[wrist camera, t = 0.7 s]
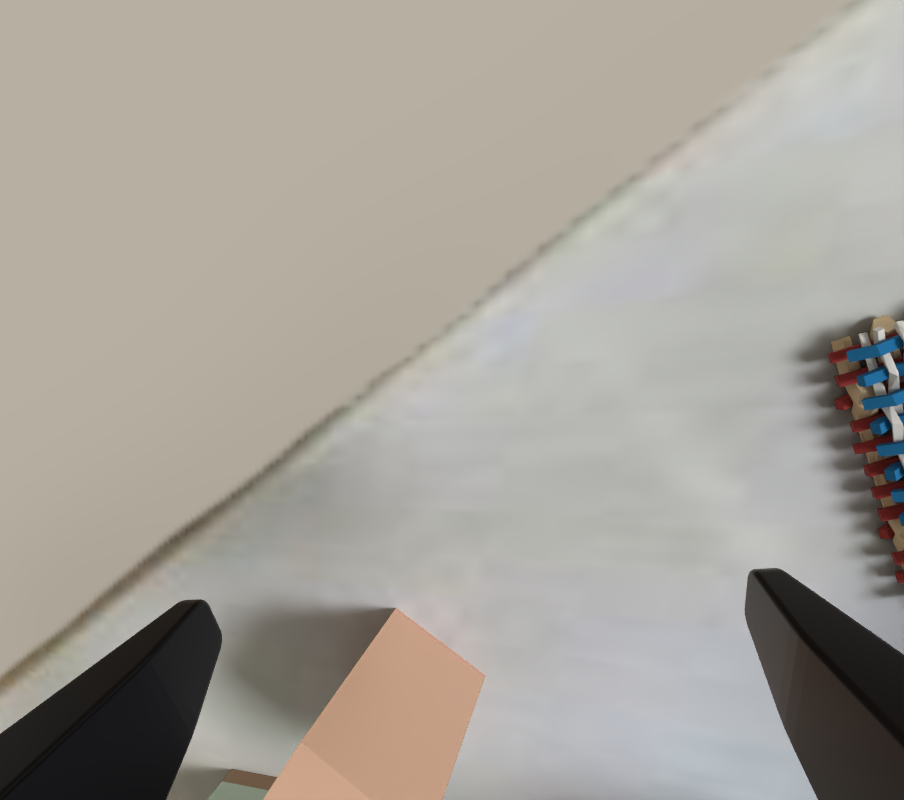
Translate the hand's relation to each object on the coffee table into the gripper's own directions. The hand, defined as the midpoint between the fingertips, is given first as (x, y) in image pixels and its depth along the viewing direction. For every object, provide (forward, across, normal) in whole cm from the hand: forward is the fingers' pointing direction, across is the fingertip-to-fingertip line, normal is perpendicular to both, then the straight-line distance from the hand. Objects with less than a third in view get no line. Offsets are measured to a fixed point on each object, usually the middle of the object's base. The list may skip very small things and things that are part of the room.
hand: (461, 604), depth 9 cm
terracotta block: (+10, +5, +15) cm, 19 cm away
